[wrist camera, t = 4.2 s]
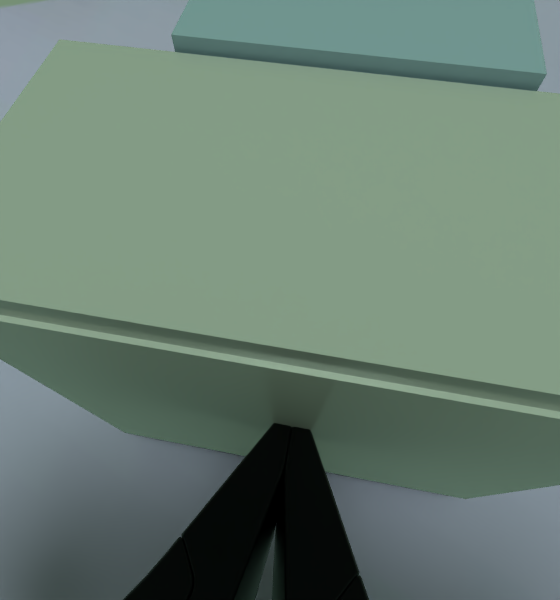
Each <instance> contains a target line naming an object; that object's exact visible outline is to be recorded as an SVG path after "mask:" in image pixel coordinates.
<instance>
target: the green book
mask: <svg viewBox="0 0 560 600" xmlns="http://www.w3.org/2000/svg"><path fill="white" fill-rule="evenodd" d="M0 359H1V360H2V361H4V362H6V363H8V364H9V365H11V366H13V367H14V368H16V369H18V370H19V371H21V372H23V373H24V374H26V375H28V376H30V377H31V378H33V379H35V380H36V381H38V382H40V383H41V384H43V385H45V386H47V387H48V388H50V389H52V390H53V391H55V392H57V393H58V394H60V395H62V396H63V397H65V398H67V399H69V400H70V401H72V402H74V403H75V404H77V405H79V406H80V407H82V408H84V409H85V410H87V411H89V412H91V413H92V414H94V415H96V416H97V417H99V418H101V419H102V420H104V421H106V422H108V423H109V424H111V425H113V426H114V427H116V428H118V429H119V430H121V431H123V432H124V433H129V434H134V435H139V436H144V437H150V438H155V439H160V440H165V441H170V442H175V443H180V444H186V445H191V446H196V447H201V448H206V449H211V450H216V451H221V452H227V453H232V454H237V455H242V456H247V454H248V453H249V452H250V451H251V449H252V448H253V447H254V446H255V445H256V443H257V442H258V441H259V440H260V439H261V437H262V436H263V435H264V434H265V432H266V431H267V430H268V429H269V428H270V426H271V425H272V424H273V423H278V424H283V425H288V426H291V427H299V428H304V429H310V430H311V432H312V434H313V437H314V440H315V443H316V446H317V449H318V452H319V455H320V458H321V461H322V464H323V467H324V470H325V472H329V473H334V474H340V475H345V476H350V477H355V478H360V479H365V480H370V481H376V482H381V483H386V484H391V485H396V486H401V487H406V488H411V489H417V490H422V491H427V492H432V493H437V494H442V495H447V496H453V497H458V498H463V499H469V498H475V497H482V496H489V495H496V494H502V493H509V492H516V491H523V490H529V489H536V488H543V487H550V486H556V485H560V94H557V93H548V92H539V91H529V90H520V89H511V88H502V87H492V86H483V85H474V84H465V83H456V82H446V81H437V80H428V79H419V78H409V77H400V76H391V75H382V74H372V73H363V72H354V71H345V70H336V69H326V68H317V67H308V66H299V65H289V64H280V63H271V62H262V61H253V60H243V59H234V58H225V57H216V56H206V55H197V54H188V53H179V52H170V51H160V50H151V49H142V48H133V47H123V46H114V45H105V44H96V43H86V42H77V41H68V40H59V41H58V43H57V44H56V45H55V47H54V48H53V49H52V51H51V52H50V54H49V55H48V56H47V58H46V59H45V61H44V62H43V63H42V65H41V66H40V68H39V69H38V70H37V72H36V73H35V75H34V76H33V77H32V79H31V80H30V81H29V83H28V84H27V86H26V87H25V88H24V90H23V91H22V93H21V94H20V95H19V97H18V98H17V100H16V101H15V102H14V104H13V105H12V107H11V108H10V109H9V111H8V112H7V114H6V115H5V116H4V118H3V119H2V120H1V122H0Z"/></svg>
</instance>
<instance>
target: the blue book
mask: <svg viewBox="0 0 560 600" xmlns="http://www.w3.org/2000/svg"><path fill="white" fill-rule="evenodd" d="M171 35H172V40H173V44H174V48H175V52H179V53H188V54H197V55H206V56H216V57H225V58H234V59H243V60H253V61H262V62H271V63H280V64H289V65H299V66H308V67H317V68H326V69H336V70H345V71H354V72H363V73H372V74H382V75H391V76H400V77H409V78H419V79H428V80H437V81H446V82H456V83H465V84H474V85H483V86H492V87H502V88H511V89H520V90H529V91H537V90H538V88H539V86H540V85H541V83H542V81H543V79H544V78H545V76H546V74H547V73H546V67H545V61H544V56H543V50H542V44H541V38H540V33H539V27H538V21H537V16H536V10H535V4H534V0H189V1H188V3H187V5H186V7H185V9H184V11H183V13H182V15H181V17H180V19H179V21H178V23H177V25H176V27H175V29H174V31H173V33H172V34H171Z"/></svg>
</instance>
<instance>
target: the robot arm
mask: <svg viewBox="0 0 560 600" xmlns="http://www.w3.org/2000/svg"><path fill="white" fill-rule="evenodd" d="M275 527H276V533H275V549H274V568H273V588H272V600H369V598H368V596H367V593H366V590H365V587H364V584H363V581H362V578H361V576H359V570H358V567H357V564H356V561H355V558H354V555H353V552H352V549H351V546H350V543H349V540H348V537H347V534H346V531H345V528H344V526H343V523H342V520H341V517H340V514H339V511H338V508H337V505H336V502H335V499H334V496H333V493H332V490H331V487H330V484H329V481H328V478H327V475H326V473H325V470H324V467H323V464H322V461H321V458H320V455H319V452H318V449H317V446H316V443H315V440H314V437H313V434H312V432H311V430H310V429H304V428H299V427H291V426H288V425H283V424H278V423H273V424H272V425H271V426H270V428H269V429H268V430H267V431H266V432H265V434H264V435H263V436H262V437H261V439H260V440H259V441H258V442H257V443H256V445H255V446H254V447H253V448H252V449H251V451H250V452H249V453H248V454H247V456H246V457H245V458H244V459H243V460H242V462H241V463H240V464H239V465H238V467H237V468H236V469H235V470H234V471H233V473H232V474H231V475H230V476H229V477H228V479H227V480H226V481H225V482H224V484H223V485H222V486H221V487H220V488H219V490H218V491H217V492H216V493H215V494H214V496H213V497H212V498H211V499H210V501H209V502H208V503H207V504H206V505H205V507H204V508H203V509H202V510H201V512H200V513H199V514H198V515H197V516H196V518H195V519H194V520H193V521H192V522H191V524H190V525H189V526H188V527H187V529H186V530H185V531H184V532H183V533H182V537H179V538H178V539H177V540H176V542H175V543H174V544H173V545H172V546H171V548H170V549H169V550H168V551H167V553H166V554H165V555H164V556H163V557H162V558H161V559H160V561H159V562H158V563H157V564H156V565H155V566H154V567H153V569H152V570H151V571H150V572H149V573H148V574H147V575H146V577H145V578H144V579H143V580H142V581H141V582H140V583H139V584H138V585H137V586H136V587H135V588H134V589H133V590H132V591H131V592H130V593H129V594H128V595H127V596H126V597H125V598H124V599H123V600H255V597H256V594H257V590H258V587H259V583H260V580H261V577H262V573H263V570H264V566H265V563H266V559H267V556H268V553H269V549H270V546H271V542H272V539H273V535H274V531H275Z"/></svg>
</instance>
